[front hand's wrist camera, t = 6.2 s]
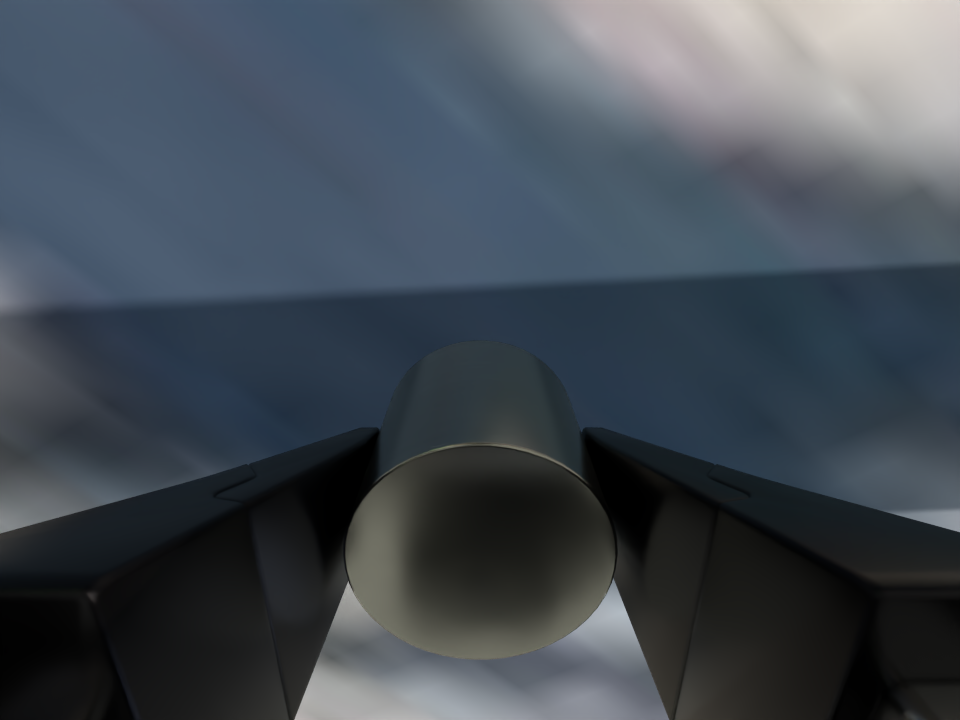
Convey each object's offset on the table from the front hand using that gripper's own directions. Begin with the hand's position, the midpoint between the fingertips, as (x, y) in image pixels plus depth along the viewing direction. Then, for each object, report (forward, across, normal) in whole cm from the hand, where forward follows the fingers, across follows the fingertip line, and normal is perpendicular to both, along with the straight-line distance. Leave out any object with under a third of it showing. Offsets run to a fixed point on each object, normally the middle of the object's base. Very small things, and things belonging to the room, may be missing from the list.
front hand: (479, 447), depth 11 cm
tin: (+1, 0, 0) cm, 1 cm away
